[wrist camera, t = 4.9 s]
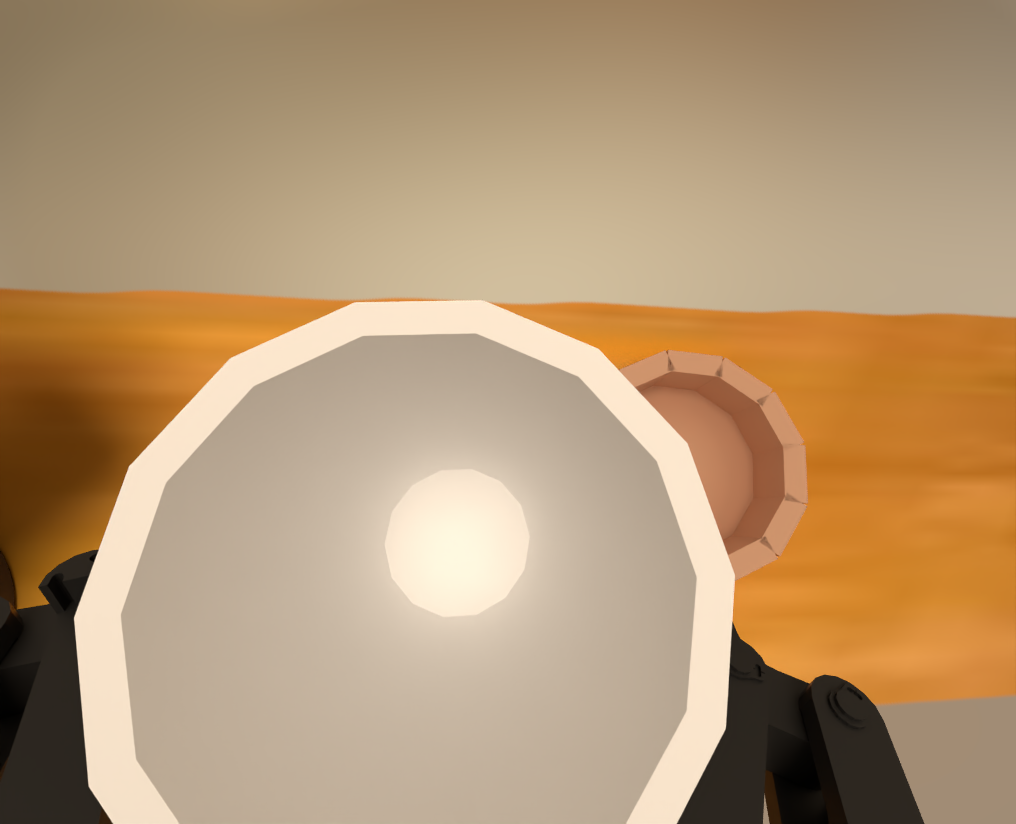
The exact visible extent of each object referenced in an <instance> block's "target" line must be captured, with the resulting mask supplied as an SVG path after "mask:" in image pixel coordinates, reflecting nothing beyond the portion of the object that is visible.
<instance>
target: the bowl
mask: <svg viewBox="0 0 1016 824" xmlns="http://www.w3.org/2000/svg"><path fill="white" fill-rule="evenodd" d="M619 371H620V372H621V373H622V374H623V376H624V377H625V378H626V379H627V380H628V381H629V382H630V383H631V384H632V385H633V386H634V387H635V388H636V389H637V390H638V391H639V393H640V394H641V395H642V396H643V397H644V398H645V399H646V400H647V401H648V402H649V403H650V404H651V405H652V406H653V407H654V408H655V409H656V411H657V412H658V413H659V414H660V415H661V416H662V417H663V418H664V419H665V420H666V421H667V422H668V423H669V424H670V425H671V426H672V428H673V429H674V430H675V431H676V432H677V433H678V434H679V435H680V436H681V437H682V438H683V439H684V440H685V441H686V442H687V443H688V446H689V449H690V452H691V455H692V457H693V460H694V463H695V466H696V468H697V471H698V474H699V477H700V480H701V482H702V485H703V488H704V491H705V493H706V496H707V499H708V502H709V505H710V507H711V510H712V513H713V516H714V518H715V521H716V524H717V527H718V529H719V532H720V535H721V538H722V541H723V543H724V546H725V549H726V552H727V554H728V557H729V560H730V563H731V566H732V568H733V571H734V574H735V581H736V580H738V579H740V578H742V577H744V576H745V575H747V574H749V573H751V572H753V571H755V570H757V569H759V568H761V567H763V566H765V565H767V564H769V563H771V562H773V561H774V560H776V559H778V558H777V556H781V554H782V552H783V550H784V548H785V547H786V545H787V543H788V541H789V539H790V537H791V535H792V534H793V532H794V530H795V528H796V526H797V524H798V523H799V521H800V519H801V517H802V515H803V513H804V511H805V510H806V508H807V506H806V505H804V503H808V495H807V473H806V452H805V445H800V444H802V443H804V441H803V439H802V438H801V436H800V434H799V432H798V431H797V429H796V427H795V425H794V424H793V422H792V420H791V419H790V417H789V415H788V413H787V412H786V410H785V408H784V406H783V405H782V403H781V401H780V400H779V398H778V396H777V394H776V393H775V392H773V393H771V391H772V390H773V389H771V388H770V387H768V386H767V385H765V384H764V383H763V382H761V381H760V380H758V379H757V378H755V377H754V376H752V375H751V374H749V373H748V372H746V371H745V370H743V369H742V368H740V367H739V366H737V365H736V364H734V363H733V362H731V361H730V360H728V359H727V358H724V359H722V356H715V355H706V354H698V353H690V352H681V351H673V350H668V351H667V352H666V351H663V352H660V353H658V354H656V355H653V356H651V357H648V358H646V359H644V360H641V361H639V362H637V363H634V364H632V365H630V366H627V367H625V368H623V369H620V370H619ZM770 393H771V394H770Z"/></svg>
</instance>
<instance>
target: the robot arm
mask: <svg viewBox="0 0 1016 824" xmlns="http://www.w3.org/2000/svg"><path fill="white" fill-rule="evenodd" d="M98 551H99V550H92V551H89V552H86V553H82V554H79V555H76V556H74V557H72V558H70V559H69V560H67V561H65V562H63V563H61V564H59V565H58V566H57V567H56V568H54V569H53V570H52V571H51V572H50V573H48V574H47V575H46V576H45V578H44V579H43V581H42V582H41V584H40V585H39V587H38V588H39V589H40V590H41V592H42V593H43V595H44V596H45V598H46V599H47V601H48V602H49V603H50V604H48V605H42V606H36V607H30V608H24V609H18V610H15V609H14V589H13V583H12V578H11V574H10V571H9V568H8V565H7V563H6V561H5V559H4V557H3V555H2V553H1V552H0V824H113V823H112V821H111V820H110V818H109V817H108V815H107V814H106V812H105V811H104V809H103V807H102V806H101V804H100V803H99V801H98V800H97V798H96V797H95V795H94V794H93V792H92V791H91V789H90V788H89V784H88V772H87V761H86V749H85V738H84V726H83V715H82V703H81V692H80V680H79V669H78V658H77V646H76V635H75V623H74V617H75V614H76V611H77V608H78V606H79V603H80V600H81V597H82V595H83V592H84V589H85V586H86V584H87V581H88V578H89V575H90V573H91V570H92V567H93V564H94V562H95V559H96V556H97V553H98ZM764 793H765V798H766V804H767V811H768V816H769V822H770V824H924V822H923V819H922V817H921V814H920V812H919V809H918V806H917V804H916V801H915V799H914V797H913V794H912V791H911V789H910V786H909V784H908V781H907V779H906V776H905V774H904V771H903V769H902V766H901V763H900V761H899V758H898V756H897V753H896V751H895V748H894V746H893V743H892V741H891V738H890V736H889V733H888V731H887V728H886V726H885V723H884V721H883V719H882V717H881V715H880V713H879V712H878V710H877V708H876V706H875V705H874V704H873V703H872V702H871V701H870V700H869V699H868V697H867V696H866V695H865V694H864V693H863V692H861V691H860V690H859V689H858V688H856V687H855V686H854V685H852V684H851V683H849V682H847V681H845V680H843V679H841V678H839V677H837V676H830V675H822V676H819V677H817V678H815V679H814V680H813V681H812V682H811V683H810V684H809V683H806V682H804V681H802V680H799V679H797V678H794V677H792V676H789V675H787V674H784V673H782V672H779V671H777V670H775V669H773V668H771V667H769V666H767V665H766V664H765V663H764V661H763V659H762V657H761V656H760V655H759V654H758V653H757V652H756V651H755V650H754V649H753V648H752V647H751V646H750V645H748V644H747V643H745V642H744V641H743V640H741V639H740V637H739V635H738V634H737V631H736V629H735V627H734V624H733V622H732V633H731V650H730V667H729V684H728V700H727V717H726V729H725V731H724V733H723V735H722V737H721V739H720V741H719V743H718V745H717V747H716V749H715V751H714V753H713V754H712V756H711V758H710V760H709V762H708V764H707V766H706V768H705V770H704V772H703V774H702V776H701V778H700V780H699V782H698V784H697V786H696V787H695V789H694V791H693V793H692V795H691V797H690V799H689V801H688V803H687V805H686V807H685V809H684V811H683V813H682V815H681V817H680V818H679V820H678V822H677V824H763V809H764Z"/></svg>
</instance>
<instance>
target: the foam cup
mask: <svg viewBox="0 0 1016 824" xmlns="http://www.w3.org/2000/svg"><path fill="white" fill-rule="evenodd" d="M734 583H735V574H734V571H733V568H732V566H731V563H730V560H729V557H728V554H727V552H726V549H725V546H724V543H723V541H722V538H721V535H720V532H719V529H718V527H717V524H716V521H715V518H714V516H713V513H712V510H711V507H710V505H709V502H708V499H707V496H706V493H705V491H704V488H703V485H702V482H701V480H700V477H699V474H698V471H697V468H696V466H695V463H694V460H693V457H692V455H691V452H690V449H689V446H688V443H687V442H686V441H685V440H684V439H683V438H682V437H681V436H680V435H679V434H678V433H677V432H676V431H675V430H674V429H673V428H672V426H671V425H670V424H669V423H668V422H667V421H666V420H665V419H664V418H663V417H662V416H661V415H660V414H659V413H658V412H657V411H656V409H655V408H654V407H653V406H652V405H651V404H650V403H649V402H648V401H647V400H646V399H645V398H644V397H643V396H642V395H641V394H640V393H639V391H638V390H637V389H636V388H635V387H634V386H633V385H632V384H631V383H630V382H629V381H628V380H627V379H626V378H625V377H624V376H623V374H622V373H621V372H620V371H619V370H618V369H617V368H616V367H615V366H614V365H613V364H612V363H611V362H610V361H609V360H608V359H607V358H606V356H605V355H604V354H603V353H602V352H601V351H600V350H599V349H597V348H595V347H593V346H590V345H588V344H585V343H583V342H581V341H578V340H576V339H574V338H571V337H569V336H566V335H564V334H562V333H559V332H557V331H555V330H552V329H550V328H547V327H545V326H543V325H540V324H538V323H536V322H533V321H531V320H528V319H526V318H524V317H521V316H519V315H517V314H514V313H512V312H509V311H507V310H505V309H502V308H500V307H498V306H495V305H493V304H490V303H488V302H486V301H483V300H473V301H410V302H355V303H353V304H350V305H348V306H346V307H344V308H341V309H339V310H337V311H335V312H332V313H330V314H328V315H326V316H324V317H321V318H319V319H317V320H315V321H312V322H310V323H308V324H306V325H303V326H301V327H299V328H297V329H295V330H292V331H290V332H288V333H286V334H283V335H281V336H279V337H277V338H274V339H272V340H270V341H268V342H265V343H263V344H261V345H259V346H257V347H254V348H252V349H250V350H248V351H245V352H243V353H241V354H239V355H236V356H234V357H232V358H230V359H229V360H228V361H227V363H226V364H225V365H224V366H223V367H222V368H221V369H220V370H219V371H218V372H217V373H216V374H215V375H214V376H213V377H212V379H211V380H210V381H209V382H208V383H207V384H206V385H205V386H204V387H203V388H202V389H201V390H200V391H199V392H198V393H197V395H196V396H195V397H194V398H193V399H192V400H191V401H190V402H189V403H188V404H187V405H186V406H185V407H184V408H183V409H182V411H181V412H180V413H179V414H178V415H177V416H176V417H175V418H174V419H173V420H172V421H171V422H170V423H169V424H168V426H167V427H166V428H165V429H164V430H163V431H162V432H161V433H160V434H159V435H158V436H157V437H156V438H155V439H154V440H153V442H152V443H151V444H150V445H149V446H148V447H147V448H146V449H145V450H144V451H143V452H142V453H141V454H140V455H139V456H138V458H137V459H136V460H135V461H134V462H133V463H132V464H131V465H130V466H129V468H128V471H127V474H126V476H125V479H124V482H123V485H122V487H121V490H120V493H119V496H118V498H117V501H116V504H115V507H114V509H113V512H112V515H111V518H110V520H109V523H108V526H107V529H106V531H105V534H104V537H103V540H102V542H101V545H100V548H99V551H98V553H97V556H96V559H95V562H94V564H93V567H92V570H91V573H90V575H89V578H88V581H87V584H86V586H85V589H84V592H83V595H82V597H81V600H80V603H79V606H78V608H77V611H76V614H75V617H74V623H75V635H76V646H77V658H78V669H79V680H80V692H81V703H82V715H83V726H84V738H85V749H86V761H87V772H88V784H89V788H90V789H91V791H92V792H93V794H94V795H95V797H96V798H97V800H98V801H99V803H100V804H101V806H102V807H103V809H104V811H105V812H106V814H107V815H108V817H109V818H110V820H111V821H112V823H113V824H677V822H678V820H679V818H680V817H681V815H682V813H683V811H684V809H685V807H686V805H687V803H688V801H689V799H690V797H691V795H692V793H693V791H694V789H695V787H696V786H697V784H698V782H699V780H700V778H701V776H702V774H703V772H704V770H705V768H706V766H707V764H708V762H709V760H710V758H711V756H712V754H713V753H714V751H715V749H716V747H717V745H718V743H719V741H720V739H721V737H722V735H723V733H724V731H725V729H726V717H727V700H728V684H729V667H730V650H731V633H732V617H733V600H734Z"/></svg>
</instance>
